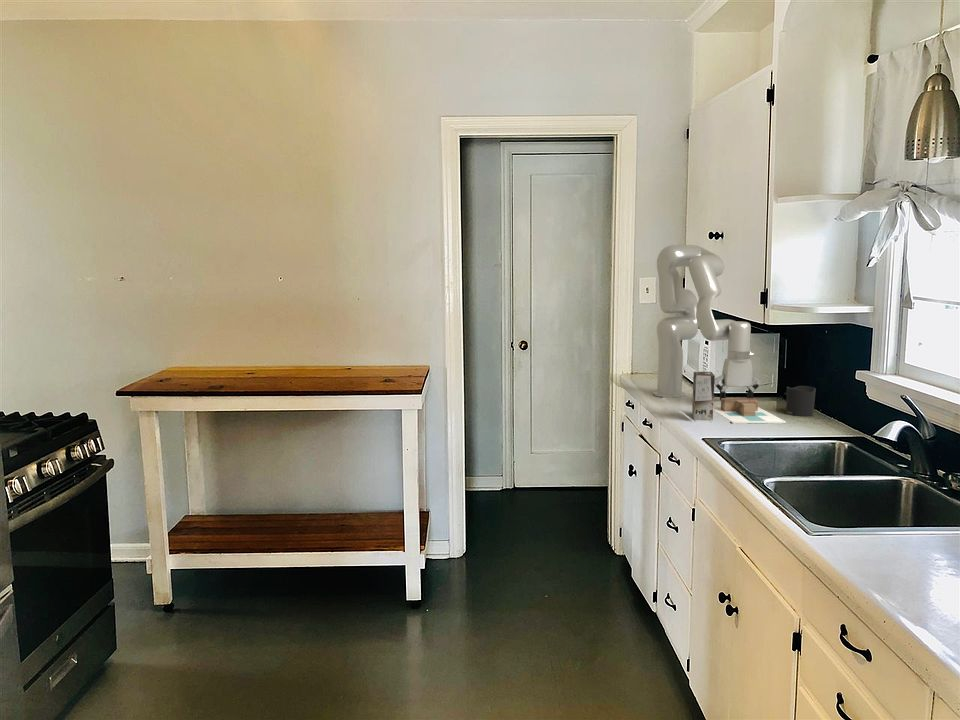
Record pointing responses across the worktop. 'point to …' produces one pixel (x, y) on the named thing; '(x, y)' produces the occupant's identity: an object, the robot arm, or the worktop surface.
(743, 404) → the t block
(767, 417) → the board
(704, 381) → the coffee box
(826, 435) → the worktop surface
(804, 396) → the pen holder
